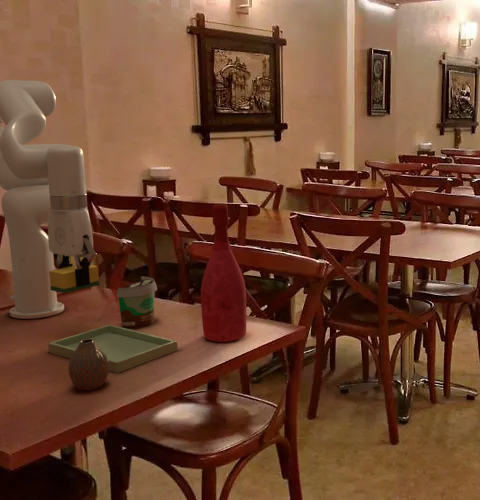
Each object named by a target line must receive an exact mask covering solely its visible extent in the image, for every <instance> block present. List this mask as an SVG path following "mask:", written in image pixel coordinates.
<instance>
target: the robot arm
mask: <svg viewBox="0 0 480 500" xmlns="http://www.w3.org/2000/svg"><path fill="white" fill-rule="evenodd" d="M56 106H57V98H56V95H55V91H54V90H53V88H52V87H51V85H50V84H49V83H47V82H45V81H43V80H27V79H26V80H25V79H5V80H0V124H4V125H5V127H3V126H1V125H0V187H1V188H2V189H3V190H4V191H6V192H5V193H4V194H3V195H2V197H1V209H2V210H1V211H2V214H3V217H4V221H5V224H6V228H7V233H8V234H7V235H8V241H9V249H10V259H11V267H12V268H11V269H12V280H13V289H14V291H13V292H14V293H13V294H12V295H10V301H13V302H14V306H12V307H11V308H10V309H9V311H8V312H9V316H10V317H11V318H15V319H21V320H29V319H30V320H31V319H41V318H48V317H51V316H55V315H58V314H60V313H62V312H64V310H65V304H64V303H62V302H60V301H58V295H57V292H56V291H52V290H51V287H50V276H49V271H52V270H55V259H56V265H57V266H58V269H61V268H66V267H71V266H74V265H73V264H74V263H71V261H72V257H73V258H74V262H75V265H76V266H77V269H75V275H76V286H77V287H81V286H85V285H89V284H90V275H89V267H90V266H91V265H92V263H93V260H94V259H95V258H96V257H97V253H96V251H95V249H94V237H93V230H92V229H93V228H92V224H91V218H90V214H89V209H88V196H87V195H88V194H87V184H86V183H87V182H86V170H85V169H86V168H85V157H84V151H83V149H82V148H81V147H79V146H75V145H70V144H67V143H36V144H35V143H34V144H27V143H29V142H32V141H34V140H35V139H37V138H39V137H40V136H41V135H42V134H43V133H44V131H45V129H46V127H47V119H46V118H47V117H48V118H49V116H51V115H52V114H53V113H54V111H55V109H56ZM46 224H47V233H46V232H45V231H44V230H43V229H42V228H41V226H42V225H46ZM54 258H55V259H54ZM81 258H82V259H81Z"/></svg>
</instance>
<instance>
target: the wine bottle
mask: <svg viewBox="0 0 480 500" xmlns="http://www.w3.org/2000/svg"><path fill="white" fill-rule="evenodd" d="M228 212H229V207H228V205H227V204H226V203H215V204H214V205H212V225H213V226H214V240H213V246H212V250H211V253H210V257H209V259H208V261H207V264H206V267H205V269H204V273H203V275H202V280H201V283H200V284H201V285H200V286H201V287H200V307H201V322H202V333H203V336H204V338H205V339H207V340H209V341H211V342H215V343H229V342H234V341H237V340H241V339H242V338H243V337H245V335H246V333H247V290H246V289H247V288H246V282H245V278H244V276H243V273H242V270H241V268H240V266H239V263H238V262H237V260H236V258H235V255H234V254H233V251H232V248H231V242H230V241H229V231H228V225H229V223H230V219H229V214H228Z"/></svg>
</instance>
